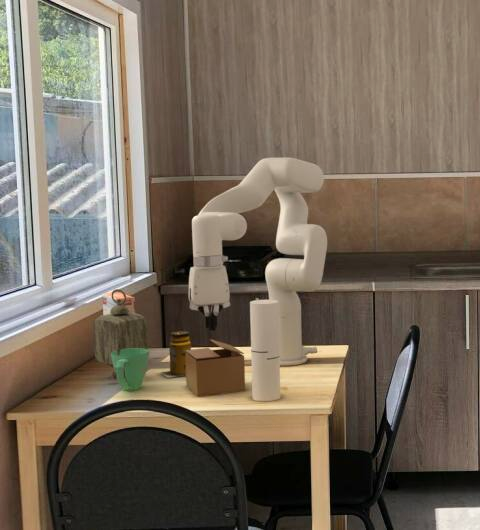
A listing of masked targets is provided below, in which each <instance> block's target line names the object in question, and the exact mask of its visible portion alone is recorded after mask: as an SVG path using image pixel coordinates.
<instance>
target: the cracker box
mask: <svg viewBox="0 0 480 530" xmlns="http://www.w3.org/2000/svg"><path fill="white" fill-rule="evenodd" d="M125 295H126V301H125V303H124V304H121V305H124V306H126V307H127V309H128V310H129V312H133V313H136V304H135V303H136V302H135V301H136V300H135V297H134V296H131V295H128V294H126V293H125ZM113 298H114V299H115V300H116V301H117V299H120V300H121V302H123V301H124V295H123V294H122V293H121V292H115V293H114V294H113ZM116 305H117V304H116V303H115V302H114V301H113V300H112V292H108V293H107V292H106V293H103V294H102V313H103V314H102V315H108V314H111V313H110V310H111V308H112V307H113V306H116Z"/></svg>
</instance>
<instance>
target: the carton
mask: <svg viewBox="0 0 480 530" xmlns="http://www.w3.org/2000/svg"><path fill="white" fill-rule="evenodd" d="M186 352H187V353H185V356H186V376H185V379H186V380H185V383H186V384H185V385H186V388H187V389H188V390H189V391H191V392H192V393H193V394H194V395H195V396H196V397H205V396H213V395H221V394H231V393H237V392H238V393H239V392H245V391H246V373H245V372H246V371H245V355H244V354H241V353H237V352H234V351H231V350H227V349H224V348H218V349H211V348H210V347H203V348H193V349H192V348H191V350H186Z"/></svg>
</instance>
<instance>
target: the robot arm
mask: <svg viewBox="0 0 480 530" xmlns="http://www.w3.org/2000/svg"><path fill="white" fill-rule="evenodd" d="M324 181H325V175H324V172H323V170H322V168H321V167H320V166H319V165H318V164H316V163H312V162H309V161H305V160H303V159H298V158H295V157H265V158H262V159H260V160H258V162H257V163H256V164H255V165H254V166H253V167H252V169H251V170H250V171H249V172H248V174H246V176H244V178H243V179H242V181H240V183H239V184H238V185H236V186H234V187H231V188H229V189H228V190H225V191H224V192H221V193H220V194H219V195H217V196H215V197H213V198H212V199H210V200H209V201H208V202H207V203H206V204H205V206H203V207H202V208H201V210H200V211H199V213H198V214H197V215H195V216H193V218H192V219H191V231H192V232H191V237H192V257H193V260H192V261H193V266H191V267H190V269H189V275H188V301H189V309H190V310H192V311H198V312H199V313H201V314H202V315H203V322H204V323H203V324H204V328H205V329H206V330H207V331H208V332H212V331H213V332H214V331H215V332H216V328H217V327H218V315H219V313H220V312H221V311H222V309H225V308H229V307H230V306H231V303H230V302H231V301H230V297H231V296H230V295H231V293H230V286H229V284H230V283H229V277H228V273H227V268H226V265H224V263H225V262H228V261H229V257H228V256H227V255H224V254H223V241H236V240H240V239H241V238H242V237H244V235H246V232H247V230H248V223H247V221H246V218H245V217H244V216H243V215H242V213H246V212H249V211H252V210H256V209H258V208H260V207H261V206H263V204H264V203H265V201H266V200H268V197H270V196H271V194H272V193H273V192H275V194H276V196H277V198H278V201H279V205H280V207H279V208H280V210H279V211H280V212H279V218H278V225H277V230H276V237H275V247H276V250H277V251H278V252H279V253H280V254H283V255H289V256H303V259H302V258H286V257H279V258H274V259H272V260H271V261H269V262H268V264H267V265H266V266H265V271H264V275H265V282H266V287H267V291H268V293H267V294H268V300H277V301H278V316H279V358H280V367H283V366H284V367H287V366H298V365H302V364H305V363H306V362H307V361H308V355H309V354H311V355H312V354H317V353H318V347H317V346H312V347H311V346H304V345H303V340H302V339H303V338H302V337H303V336H302V335H303V334H302V333H303V332H302V303H301V300H300V298H299V295H298V294H297V292H314V291H316V290H318V289H319V287H320V286H321V284H322V282H323V281H322V280H323V275H324V269H325V262H326V258H327V257H326V256H327V252H328V251H327V250H328V236H327V232H326V231H325V229H324V228H323V227H322V226H321V225H319V224H314V223H308V217H309V207H308V204H307V202H306V200H305V198H304V197H303V195H302V193H303V194H304V193H305V194H306V193H307V194H313V193H317V192H318V191H320V190H321V189H322V187H323V185H324ZM210 305H211V308H210V309H211V310H209V306H210Z"/></svg>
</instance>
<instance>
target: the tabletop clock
mask: <svg viewBox="0 0 480 530" xmlns="http://www.w3.org/2000/svg"><path fill="white" fill-rule="evenodd" d="M111 293H112V300H113V301H114V302H115V303H116V304H117V305H116V306H113V307H112V308H111V310H110V313H111V314H108V315H103V314H101V315H100V316H98V317H96V318H95V319H94V320H93V325H92V342H93V352H94V357H95V359H96V361H98V362H100V363H102V364H105V365H108V366H111V367H114V366H113V362H112V358H111V353H112V352H113V351H117V354H118V355H119V352H120V350H121V349H129V348H142V349H147V350H149V335H148V334H149V333H148V326H147V320H146V318H145V317H144V316H143V315H142V314H139V313H136V312H135V313H133V312H129V310H128V309H127V307H126V306H124V305H121V304H124V303H125V301H126V295H127V294H126V293H125V291H123V290H122V289H120V288H117V289H113V290H112V292H111ZM114 293H122V294H123V295H124V301H123V302H121V300H120V299H117V301H116V300H115V299H114V298H113V294H114ZM125 294H126V295H125ZM111 376H112V377H113V378H116V373H115V371H113V372H112V374H111ZM116 379H117V378H116Z"/></svg>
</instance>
